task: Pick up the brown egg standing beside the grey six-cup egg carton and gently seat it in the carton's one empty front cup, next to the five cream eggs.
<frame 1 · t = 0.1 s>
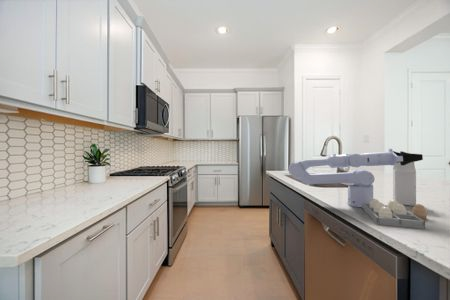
hand: (417, 156, 88), 22 cm above the countertop, tool horizontal, fingers open, 7 cm apart
cream eggs: (389, 217, 79), resting on egg carton
milk carton: (404, 203, 98), on the countertop
brown egg: (419, 217, 79), on the countertop
egg carton: (389, 217, 79), on the countertop
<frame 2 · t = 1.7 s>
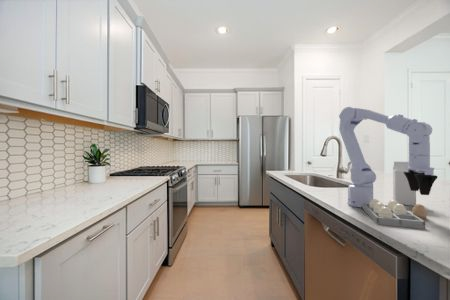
hand: (419, 192, 78), 9 cm above the countertop, tool pointing down, fingers open, 7 cm apart
nothing on the countertop moved.
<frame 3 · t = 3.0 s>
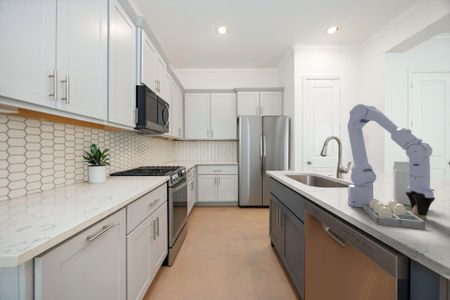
hand: (419, 213, 79), 1 cm above the countertop, tool pointing down, fingers closed on brown egg, 4 cm apart
brown egg: (419, 217, 79), on the countertop, touching gripper
everything else where it was.
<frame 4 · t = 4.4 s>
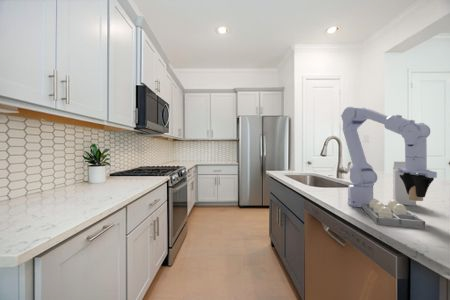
hand: (415, 195, 76), 8 cm above the countertop, tool pointing down, fingers closed on brown egg, 4 cm apart
brown egg: (415, 199, 76), point 7 cm above the countertop, touching gripper
everything else where it was.
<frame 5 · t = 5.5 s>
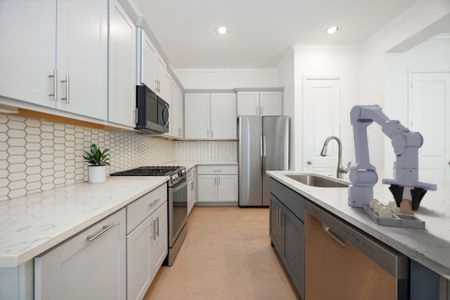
hand: (407, 208, 72), 5 cm above the countertop, tool pointing down, fingers closed on brown egg, 4 cm apart
brown egg: (407, 213, 72), point 4 cm above the countertop, touching gripper
everything else where it was.
when the fingers open (4 cm above the countertop, at t = 6.1 s): brown egg drops 2 cm, resting on egg carton.
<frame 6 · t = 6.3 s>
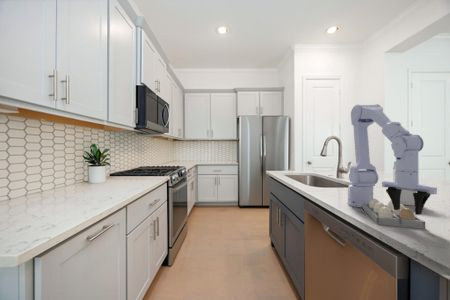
hand: (407, 211, 72), 4 cm above the countertop, tool pointing down, fingers open, 5 cm apart
brown egg: (407, 222, 72), resting on egg carton
everything else where it was.
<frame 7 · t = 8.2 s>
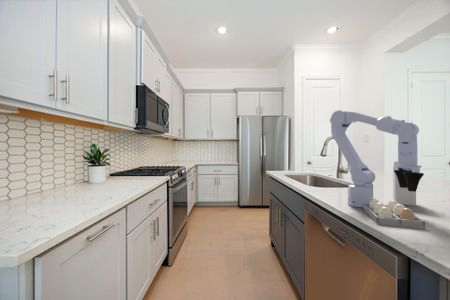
hand: (407, 189, 83), 9 cm above the countertop, tool pointing down, fingers open, 7 cm apart
nothing on the countertop moved.
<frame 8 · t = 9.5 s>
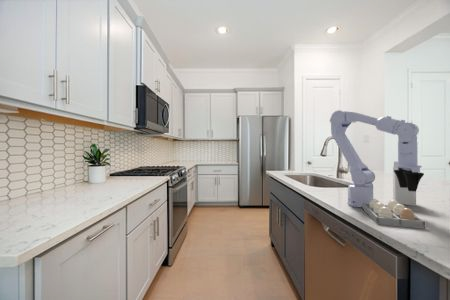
hand: (407, 189, 83), 9 cm above the countertop, tool pointing down, fingers open, 7 cm apart
nothing on the countertop moved.
at the end: brown egg 0.1 cm from the target spot on the egg carton, point 0.4 cm above the egg carton's base; brown egg tilted 0°; the gripper is holding nothing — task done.
